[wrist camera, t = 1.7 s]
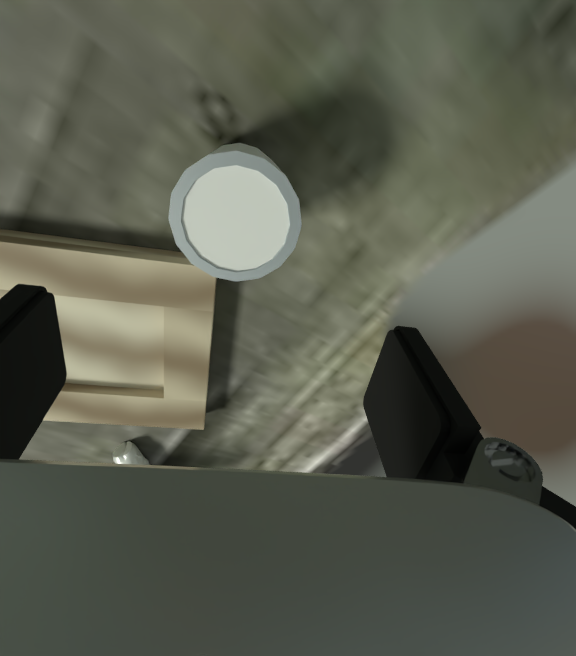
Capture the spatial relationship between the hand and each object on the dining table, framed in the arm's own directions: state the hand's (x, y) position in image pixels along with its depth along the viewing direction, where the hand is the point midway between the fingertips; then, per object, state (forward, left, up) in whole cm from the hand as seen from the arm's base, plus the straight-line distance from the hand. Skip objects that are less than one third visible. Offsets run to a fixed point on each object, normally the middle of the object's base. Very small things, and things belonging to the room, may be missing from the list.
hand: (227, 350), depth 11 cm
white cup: (0, 0, -18) cm, 18 cm away
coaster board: (+13, -9, -18) cm, 24 cm away
